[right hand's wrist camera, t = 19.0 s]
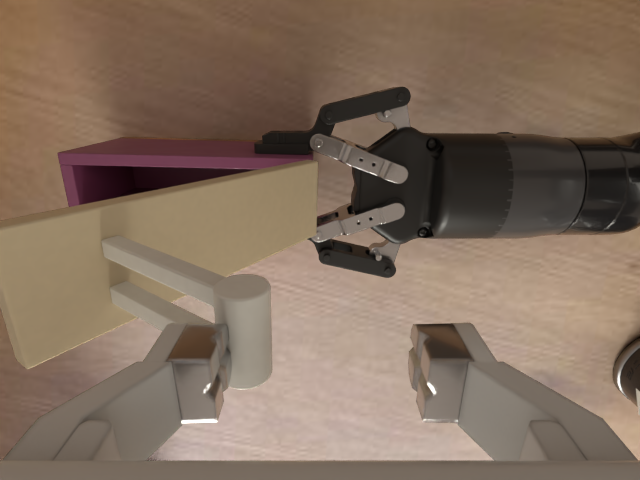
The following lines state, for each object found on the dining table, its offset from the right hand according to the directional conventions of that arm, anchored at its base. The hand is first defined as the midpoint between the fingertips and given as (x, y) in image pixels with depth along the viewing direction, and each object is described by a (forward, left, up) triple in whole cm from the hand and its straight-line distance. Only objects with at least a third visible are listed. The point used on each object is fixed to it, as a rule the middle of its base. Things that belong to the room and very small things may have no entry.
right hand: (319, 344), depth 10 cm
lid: (-5, +1, -9) cm, 11 cm away
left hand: (-4, +1, -19) cm, 19 cm away
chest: (-8, +2, -25) cm, 27 cm away
